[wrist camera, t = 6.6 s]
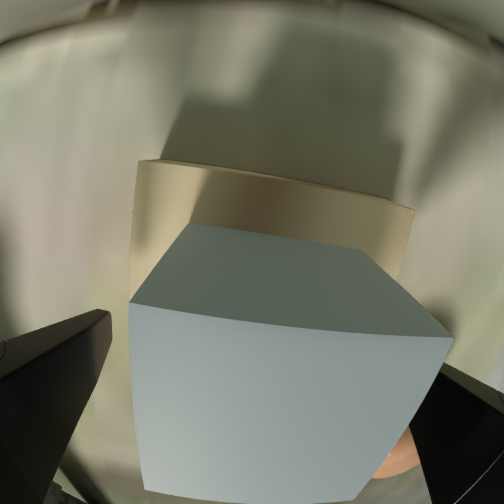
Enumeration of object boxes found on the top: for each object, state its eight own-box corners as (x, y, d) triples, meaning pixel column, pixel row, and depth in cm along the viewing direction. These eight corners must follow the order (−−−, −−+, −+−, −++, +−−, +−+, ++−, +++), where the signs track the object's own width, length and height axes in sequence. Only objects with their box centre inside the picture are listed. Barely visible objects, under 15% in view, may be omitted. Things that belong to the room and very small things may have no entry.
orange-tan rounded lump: (427, 373, 15) (459, 420, 11) (391, 427, 16) (412, 474, 12) (364, 367, 14) (392, 424, 11) (330, 425, 16) (345, 480, 12)
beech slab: (385, 199, 12) (415, 210, 10) (330, 380, 15) (342, 415, 12) (159, 159, 11) (138, 160, 9) (146, 358, 14) (132, 392, 12)
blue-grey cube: (360, 249, 10) (454, 338, 5) (318, 383, 12) (353, 499, 6) (188, 222, 10) (128, 302, 4) (176, 367, 11) (144, 489, 6)
